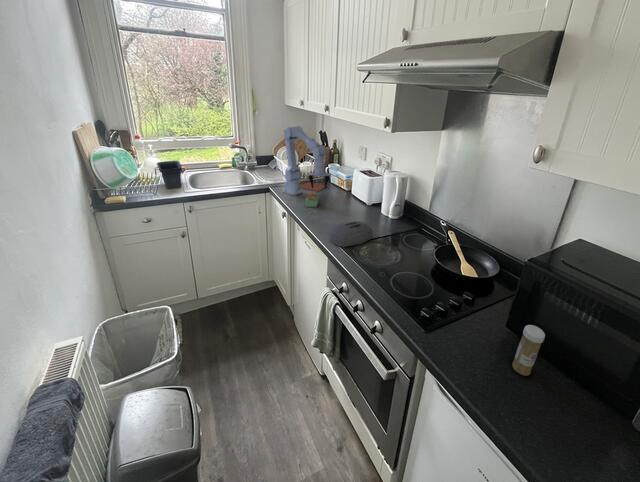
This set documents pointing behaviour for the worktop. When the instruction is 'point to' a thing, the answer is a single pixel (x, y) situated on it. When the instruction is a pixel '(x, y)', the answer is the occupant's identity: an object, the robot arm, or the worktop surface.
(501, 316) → the worktop surface
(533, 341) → the sprinkles bottle
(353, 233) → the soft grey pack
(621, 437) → the worktop surface
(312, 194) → the maple cube
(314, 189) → the mat
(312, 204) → the sage block
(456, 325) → the worktop surface
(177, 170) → the storage bin
